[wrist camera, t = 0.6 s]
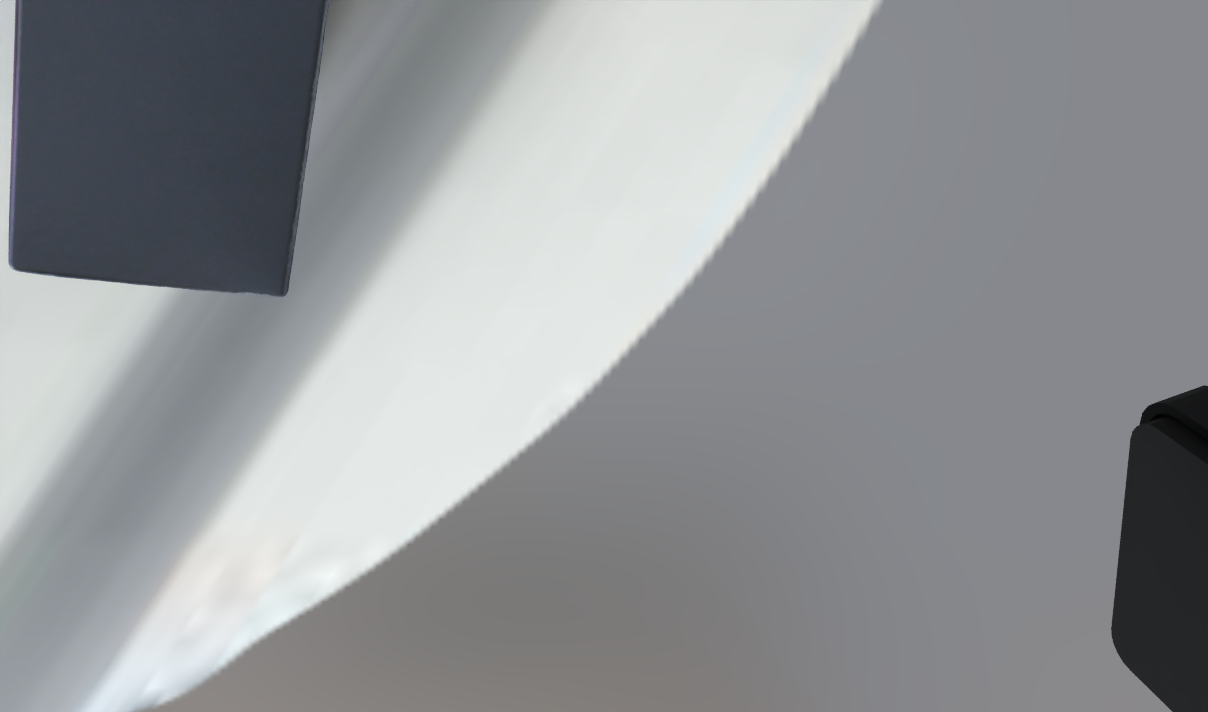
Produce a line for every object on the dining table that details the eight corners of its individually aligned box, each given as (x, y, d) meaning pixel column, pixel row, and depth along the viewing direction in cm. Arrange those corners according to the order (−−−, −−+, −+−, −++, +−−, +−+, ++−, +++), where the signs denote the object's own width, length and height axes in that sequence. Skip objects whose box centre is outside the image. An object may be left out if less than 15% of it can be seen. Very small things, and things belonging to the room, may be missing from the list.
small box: (56, -257, 30) (7, -257, 21) (313, -194, 32) (366, -169, 24) (39, 139, 34) (-7, 279, 25) (269, 168, 36) (299, 305, 28)
